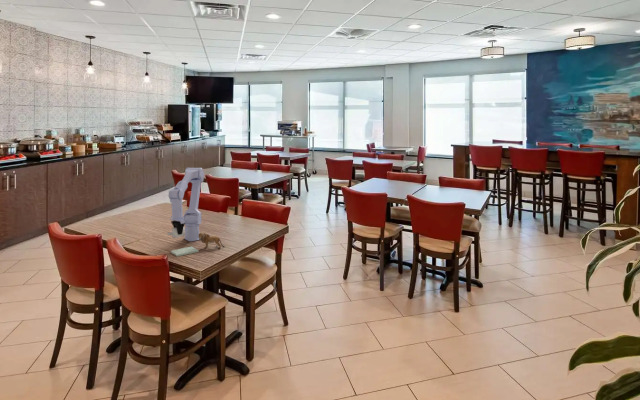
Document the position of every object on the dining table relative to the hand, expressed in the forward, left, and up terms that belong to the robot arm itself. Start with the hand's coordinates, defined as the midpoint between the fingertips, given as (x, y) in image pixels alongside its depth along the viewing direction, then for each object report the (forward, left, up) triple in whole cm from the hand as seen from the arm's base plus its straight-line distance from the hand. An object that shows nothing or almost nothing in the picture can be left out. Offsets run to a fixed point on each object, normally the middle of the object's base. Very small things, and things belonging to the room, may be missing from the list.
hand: (178, 233), depth 227 cm
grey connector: (0, -1, -2) cm, 2 cm away
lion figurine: (+11, +14, -9) cm, 20 cm away
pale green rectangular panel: (+10, -1, -8) cm, 13 cm away
